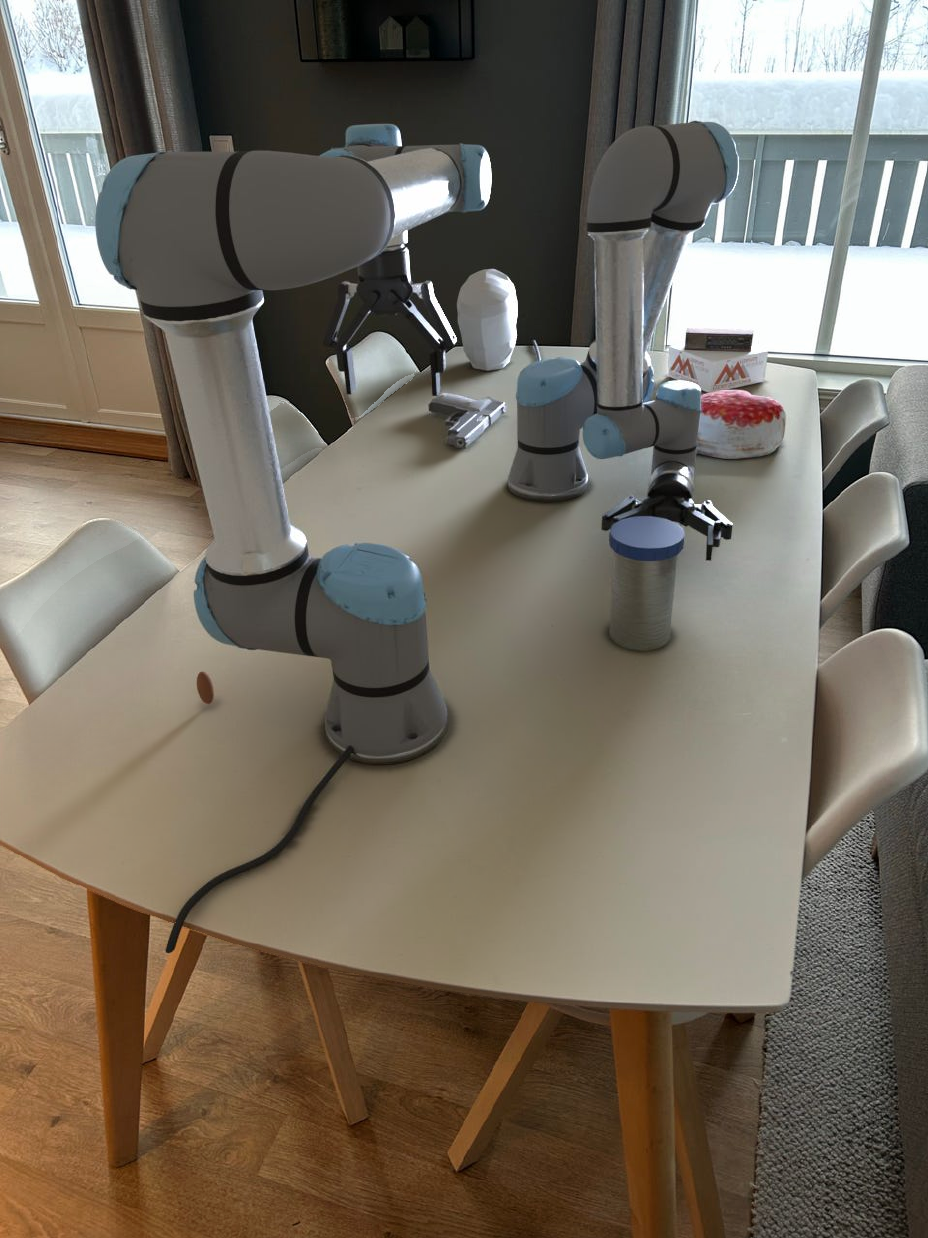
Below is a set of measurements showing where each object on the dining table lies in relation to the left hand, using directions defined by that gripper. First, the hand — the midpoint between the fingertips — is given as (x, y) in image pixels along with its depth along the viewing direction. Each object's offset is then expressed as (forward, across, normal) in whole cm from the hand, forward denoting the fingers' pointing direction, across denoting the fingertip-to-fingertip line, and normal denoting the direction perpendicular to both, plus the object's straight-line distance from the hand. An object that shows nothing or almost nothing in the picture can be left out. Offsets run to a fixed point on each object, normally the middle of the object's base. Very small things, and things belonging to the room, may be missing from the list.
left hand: (393, 392), depth 141 cm
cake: (+27, -57, -57) cm, 85 cm away
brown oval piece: (+28, +16, +46) cm, 56 cm away
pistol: (+27, +3, -60) cm, 66 cm away
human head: (+26, +2, -108) cm, 112 cm away
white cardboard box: (+26, -57, -99) cm, 117 cm away
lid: (+11, -40, +23) cm, 47 cm away
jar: (+27, -40, +23) cm, 53 cm away
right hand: (+21, -42, +9) cm, 48 cm away
